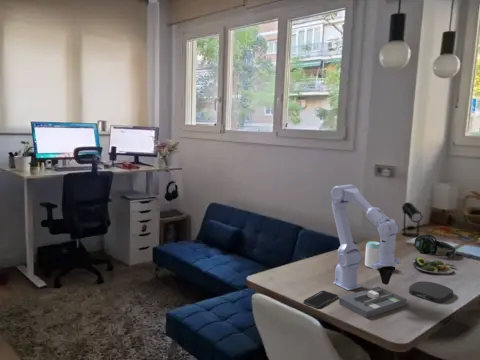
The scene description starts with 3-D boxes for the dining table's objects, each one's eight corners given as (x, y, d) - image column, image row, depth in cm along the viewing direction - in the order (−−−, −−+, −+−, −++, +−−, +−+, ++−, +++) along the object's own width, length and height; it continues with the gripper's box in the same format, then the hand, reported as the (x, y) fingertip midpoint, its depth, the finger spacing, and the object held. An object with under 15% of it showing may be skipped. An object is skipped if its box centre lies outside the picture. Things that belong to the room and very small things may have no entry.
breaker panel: (339, 303, 168) (339, 294, 167) (378, 292, 179) (378, 283, 178) (366, 318, 156) (366, 308, 155) (406, 305, 167) (406, 296, 166)
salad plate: (447, 263, 216) (448, 254, 215) (463, 276, 198) (464, 267, 198) (408, 262, 217) (408, 253, 217) (420, 275, 200) (421, 265, 199)
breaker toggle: (367, 296, 168) (367, 291, 168) (371, 295, 169) (371, 290, 169) (374, 299, 165) (374, 294, 164) (378, 298, 166) (379, 293, 166)
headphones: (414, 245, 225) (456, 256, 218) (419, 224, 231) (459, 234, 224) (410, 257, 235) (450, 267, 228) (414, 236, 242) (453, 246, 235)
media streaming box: (456, 295, 177) (456, 288, 177) (440, 305, 168) (441, 298, 167) (421, 284, 188) (422, 278, 188) (405, 293, 178) (405, 287, 178)
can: (382, 267, 208) (384, 244, 206) (371, 269, 205) (372, 245, 203) (373, 263, 214) (374, 240, 212) (361, 264, 211) (363, 241, 210)
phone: (302, 301, 168) (322, 290, 179) (302, 303, 168) (322, 292, 179) (319, 307, 163) (339, 295, 173) (319, 310, 163) (339, 298, 174)
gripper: (382, 256, 160) (380, 290, 162) (407, 250, 168) (405, 283, 170) (368, 251, 166) (366, 284, 168) (393, 245, 174) (391, 277, 176)
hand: (385, 283), depth 169 cm, fingers closed
